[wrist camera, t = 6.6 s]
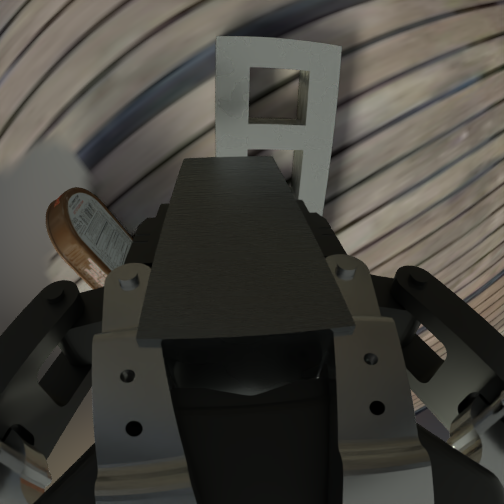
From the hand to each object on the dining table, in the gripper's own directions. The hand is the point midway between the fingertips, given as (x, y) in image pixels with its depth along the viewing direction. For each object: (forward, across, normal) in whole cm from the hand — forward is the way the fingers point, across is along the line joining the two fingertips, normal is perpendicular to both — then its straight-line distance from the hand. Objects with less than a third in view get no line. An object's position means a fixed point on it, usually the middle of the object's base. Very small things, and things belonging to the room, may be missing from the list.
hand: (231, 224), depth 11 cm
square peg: (+2, 0, 0) cm, 2 cm away
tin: (+18, +12, +10) cm, 24 cm away
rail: (+18, -4, +4) cm, 19 cm away
